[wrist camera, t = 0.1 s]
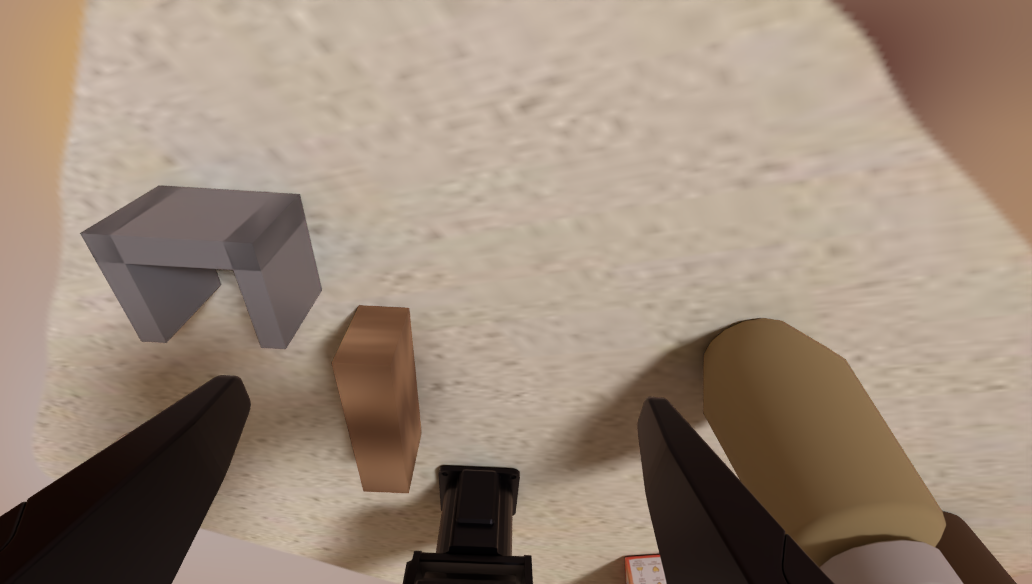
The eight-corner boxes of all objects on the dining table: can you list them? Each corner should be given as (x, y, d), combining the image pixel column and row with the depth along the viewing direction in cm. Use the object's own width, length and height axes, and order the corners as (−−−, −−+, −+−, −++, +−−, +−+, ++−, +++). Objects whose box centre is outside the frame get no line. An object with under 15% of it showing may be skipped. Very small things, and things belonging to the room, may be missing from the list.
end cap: (322, 290, 26) (285, 348, 22) (200, 283, 26) (141, 341, 22) (299, 194, 23) (252, 243, 19) (158, 185, 23) (80, 233, 19)
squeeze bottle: (791, 394, 31) (1028, 769, 17) (673, 394, 31) (806, 767, 17) (837, 300, 26) (1225, 710, 12) (698, 301, 27) (913, 708, 12)
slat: (421, 431, 34) (408, 493, 30) (382, 429, 34) (363, 491, 30) (409, 306, 27) (390, 365, 23) (359, 303, 27) (331, 362, 23)
